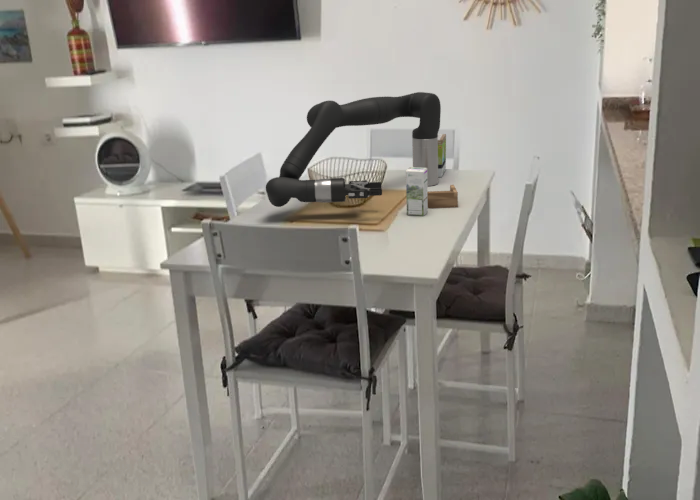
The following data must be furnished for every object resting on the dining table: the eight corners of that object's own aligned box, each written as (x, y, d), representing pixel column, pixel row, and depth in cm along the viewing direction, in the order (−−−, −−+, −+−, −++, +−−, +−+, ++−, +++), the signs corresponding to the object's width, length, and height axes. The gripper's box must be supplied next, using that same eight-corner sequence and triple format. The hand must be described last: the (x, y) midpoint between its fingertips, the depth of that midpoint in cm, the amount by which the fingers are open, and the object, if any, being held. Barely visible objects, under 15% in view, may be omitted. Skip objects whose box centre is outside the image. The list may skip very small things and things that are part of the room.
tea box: (443, 177, 286) (443, 139, 281) (417, 177, 288) (416, 139, 283) (446, 169, 300) (446, 132, 295) (421, 169, 302) (420, 133, 297)
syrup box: (428, 211, 238) (427, 166, 234) (423, 216, 233) (423, 170, 229) (410, 210, 240) (410, 166, 236) (406, 215, 235) (405, 170, 230)
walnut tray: (421, 200, 253) (420, 185, 251) (453, 199, 252) (453, 184, 251) (423, 208, 242) (423, 193, 241) (457, 207, 242) (457, 192, 240)
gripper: (328, 183, 227) (382, 181, 226) (330, 173, 240) (380, 172, 240) (329, 207, 229) (382, 205, 229) (331, 196, 243) (381, 194, 242)
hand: (381, 188), depth 234 cm, fingers open, 8 cm apart
